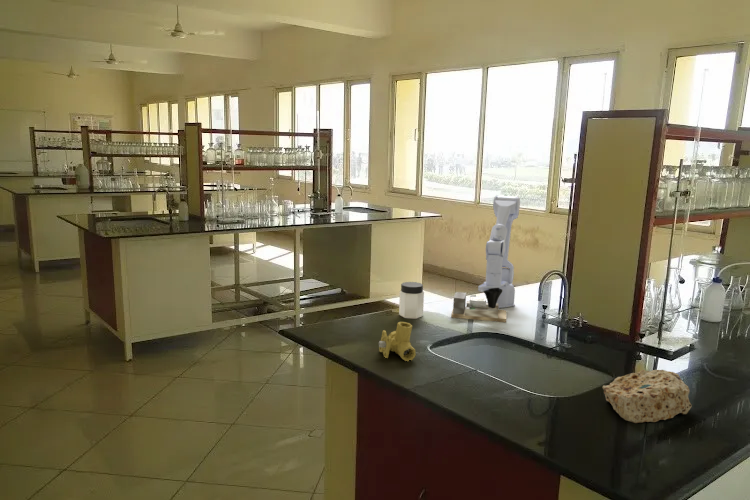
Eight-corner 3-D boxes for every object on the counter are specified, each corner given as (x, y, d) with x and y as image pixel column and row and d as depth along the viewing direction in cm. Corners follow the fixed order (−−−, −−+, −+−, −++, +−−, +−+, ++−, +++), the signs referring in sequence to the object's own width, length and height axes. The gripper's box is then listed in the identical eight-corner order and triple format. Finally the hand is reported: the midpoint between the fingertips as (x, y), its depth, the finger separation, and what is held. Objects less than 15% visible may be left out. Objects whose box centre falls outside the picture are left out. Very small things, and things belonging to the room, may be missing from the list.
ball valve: (401, 348, 178) (371, 347, 174) (407, 318, 176) (377, 316, 172) (415, 365, 166) (384, 364, 163) (422, 333, 164) (390, 331, 161)
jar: (423, 312, 214) (424, 282, 211) (422, 319, 206) (424, 287, 203) (399, 311, 214) (400, 281, 212) (398, 318, 206) (399, 286, 204)
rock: (640, 434, 128) (633, 390, 128) (597, 419, 141) (590, 380, 141) (708, 412, 134) (701, 371, 134) (660, 400, 148) (654, 363, 148)
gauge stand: (505, 313, 216) (507, 295, 214) (506, 322, 204) (507, 303, 203) (453, 308, 220) (454, 290, 219) (451, 317, 208) (452, 298, 207)
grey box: (485, 310, 214) (486, 297, 213) (484, 316, 206) (485, 303, 205) (469, 309, 215) (470, 296, 214) (468, 315, 207) (469, 302, 206)
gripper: (498, 268, 216) (495, 302, 218) (472, 272, 207) (470, 308, 209) (512, 271, 210) (510, 306, 213) (487, 276, 201) (485, 312, 204)
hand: (491, 307), depth 210 cm, fingers closed
